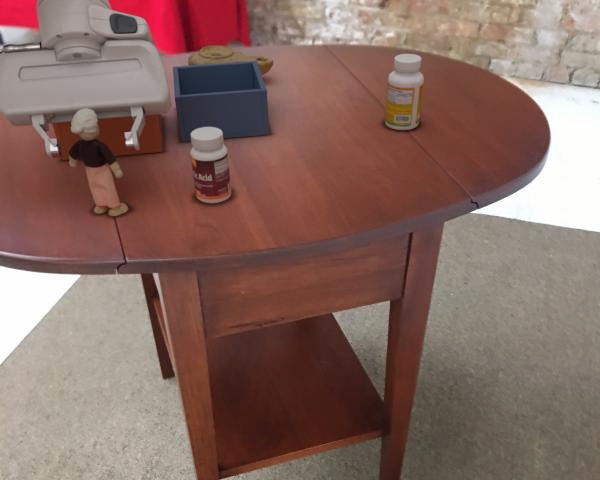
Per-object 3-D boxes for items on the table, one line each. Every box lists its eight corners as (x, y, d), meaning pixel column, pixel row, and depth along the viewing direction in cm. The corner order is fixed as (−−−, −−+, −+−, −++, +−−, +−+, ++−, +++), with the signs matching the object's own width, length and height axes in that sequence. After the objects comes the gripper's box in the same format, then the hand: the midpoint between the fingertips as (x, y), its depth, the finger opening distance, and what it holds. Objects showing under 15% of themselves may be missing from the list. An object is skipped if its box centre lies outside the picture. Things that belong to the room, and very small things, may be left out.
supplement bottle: (403, 114, 103) (410, 49, 96) (425, 125, 100) (434, 58, 93) (377, 122, 101) (382, 56, 94) (399, 134, 98) (405, 66, 91)
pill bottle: (188, 197, 84) (179, 134, 79) (213, 184, 87) (205, 122, 81) (215, 208, 82) (207, 144, 76) (239, 193, 85) (233, 130, 79)
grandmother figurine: (140, 204, 83) (119, 105, 74) (129, 219, 81) (105, 117, 72) (86, 199, 85) (59, 101, 76) (73, 214, 82) (43, 113, 73)
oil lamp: (276, 84, 114) (275, 53, 111) (198, 94, 111) (194, 63, 107) (260, 65, 121) (258, 36, 118) (186, 75, 118) (182, 45, 115)
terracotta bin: (62, 160, 93) (49, 114, 89) (71, 124, 103) (59, 81, 98) (162, 152, 95) (154, 106, 90) (161, 117, 104) (154, 74, 100)
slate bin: (181, 142, 97) (174, 97, 92) (179, 108, 107) (172, 66, 102) (269, 134, 98) (266, 90, 94) (259, 102, 108) (256, 60, 103)
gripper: (-20, 30, 73) (-4, 150, 73) (159, 18, 75) (174, 134, 75) (0, 60, 79) (15, 170, 79) (165, 48, 81) (179, 155, 81)
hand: (94, 152), depth 77 cm, fingers open, 8 cm apart
